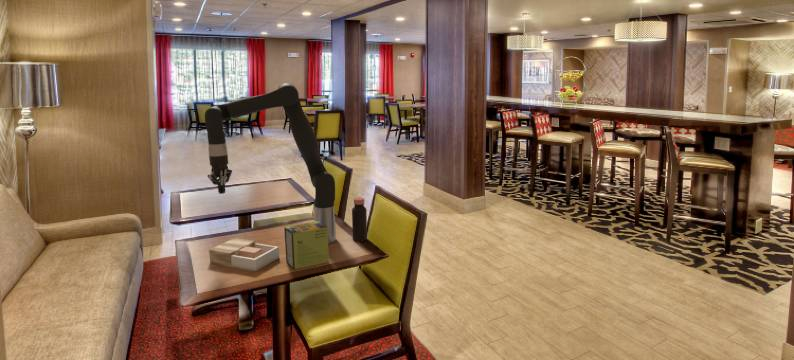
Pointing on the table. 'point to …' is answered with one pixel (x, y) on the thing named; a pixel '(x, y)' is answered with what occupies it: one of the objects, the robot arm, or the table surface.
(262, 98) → the robot arm
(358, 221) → the bottle
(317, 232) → the protein box
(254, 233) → the table surface
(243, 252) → the block
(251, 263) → the white inner box tray
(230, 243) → the beige box sleeve
